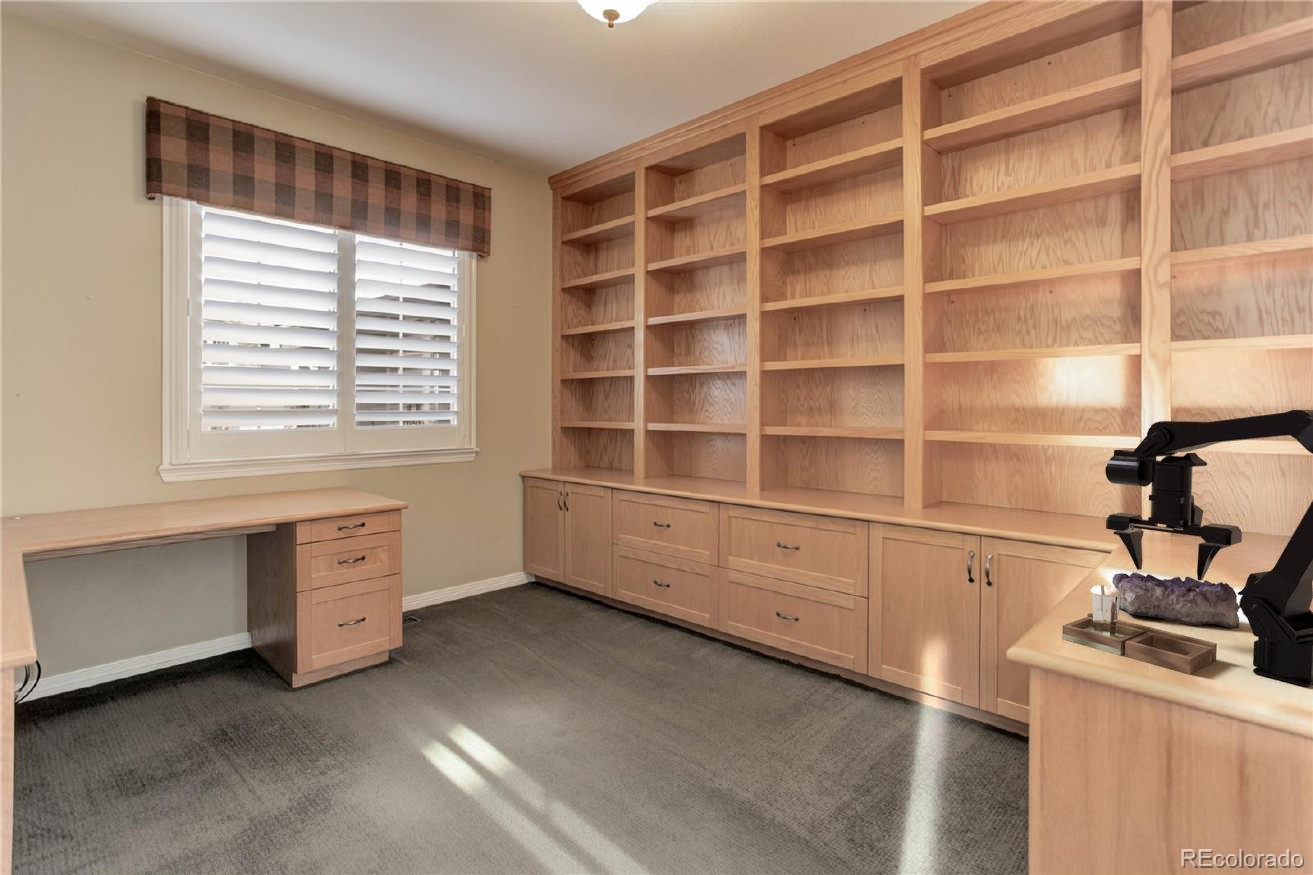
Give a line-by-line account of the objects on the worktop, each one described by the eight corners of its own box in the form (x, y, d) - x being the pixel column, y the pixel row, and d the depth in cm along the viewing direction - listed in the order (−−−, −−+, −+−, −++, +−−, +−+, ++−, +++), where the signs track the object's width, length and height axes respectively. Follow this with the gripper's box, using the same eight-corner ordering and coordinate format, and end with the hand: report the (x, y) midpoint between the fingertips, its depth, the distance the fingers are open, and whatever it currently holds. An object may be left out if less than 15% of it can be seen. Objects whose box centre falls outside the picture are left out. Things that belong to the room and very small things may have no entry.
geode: (1229, 617, 131) (1235, 570, 129) (1245, 642, 121) (1252, 592, 119) (1108, 599, 141) (1112, 555, 139) (1114, 621, 131) (1118, 574, 129)
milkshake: (1085, 637, 116) (1087, 582, 116) (1093, 630, 120) (1094, 577, 120) (1116, 643, 113) (1117, 587, 113) (1122, 636, 117) (1124, 581, 116)
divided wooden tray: (1216, 661, 108) (1216, 643, 108) (1190, 675, 102) (1190, 656, 102) (1090, 628, 124) (1090, 612, 124) (1061, 638, 118) (1062, 622, 118)
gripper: (1254, 492, 113) (1251, 579, 114) (1131, 482, 129) (1129, 559, 130) (1231, 496, 107) (1228, 589, 108) (1105, 485, 123) (1103, 566, 124)
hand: (1168, 574), depth 118 cm, fingers open, 9 cm apart
